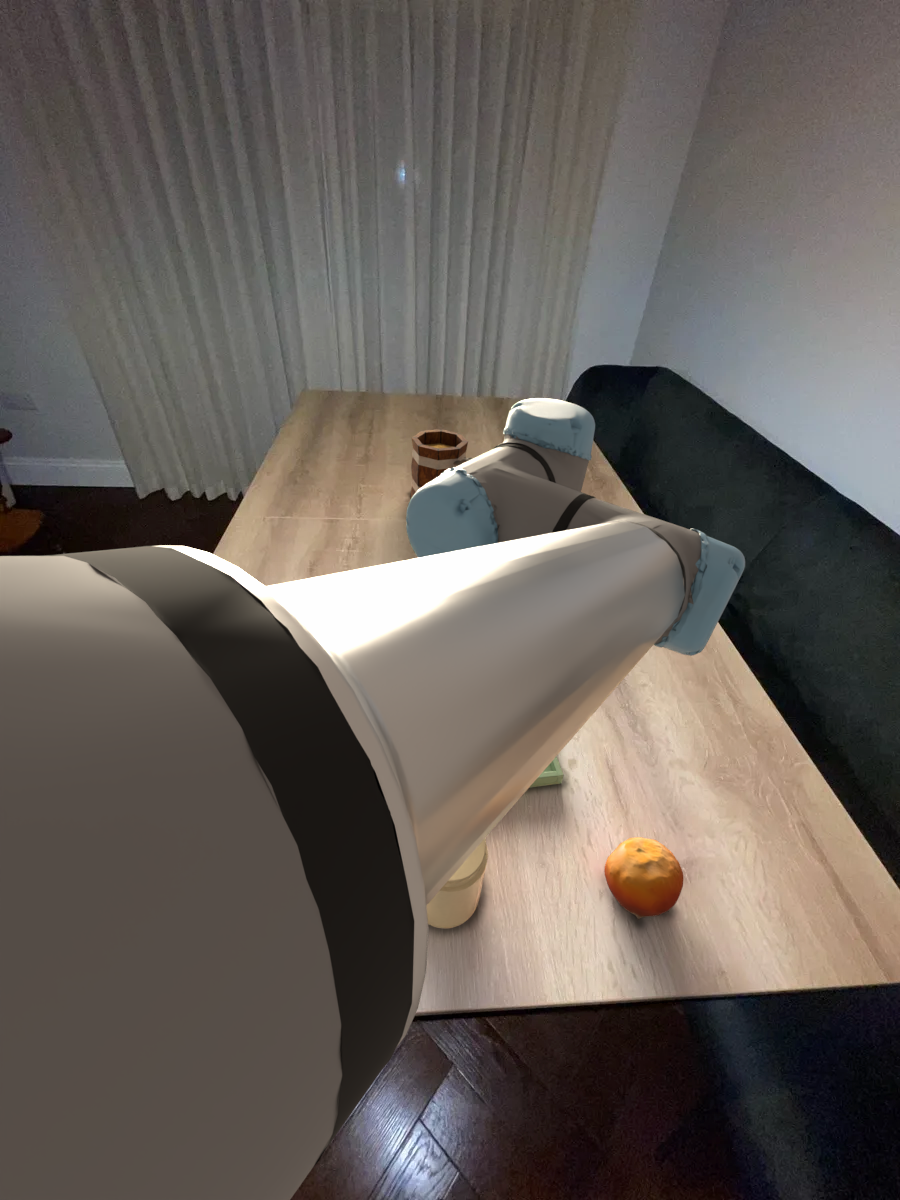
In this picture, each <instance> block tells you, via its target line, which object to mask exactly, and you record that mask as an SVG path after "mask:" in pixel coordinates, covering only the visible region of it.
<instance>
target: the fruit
mask: <svg viewBox="0 0 900 1200" xmlns="http://www.w3.org/2000/svg"><path fill="white" fill-rule="evenodd" d="M603 872H604V877H605V880H606V884H607V886H608V889H609V891H610V892H611V894H612V895H613V897H614V898H615V899H616V901H617V902H618V904H619V905H620V906H621V907H622V908H623V909H625V911H627V912H629V913H630V914H632V915H634V916H635V917H636V918H637V921H639V920H640V919H641V918H646V917H648V918H649V917H656V916H660V915H662V914H664V913H666V912H668V913H669V912H670V910H671V909H672V908H673V907H674V906H675V905H676V903H677V902H678V900H679V898H680V895H681V893H682V890H683V887H684V872H683V869H682V867H681V864H680V862H679V861H678V859H677V857H676V856H675V854H674V853H673V852H672V851H671V849H668V847H666V845H664V844H663V843H661V842H659V841H658V840H656V839H652V838H645V837H642V836H637V837H636V836H635V837H628V839H626V840H624V841H621V842H620V843H619V844H618V845H617V847H616V848H615V849H614V850H613V851H612V852H611V853H610V854H609V855H608V857H607V859H606V861H605V864H604V871H603Z"/></svg>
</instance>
